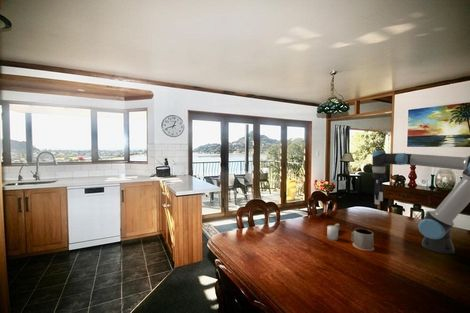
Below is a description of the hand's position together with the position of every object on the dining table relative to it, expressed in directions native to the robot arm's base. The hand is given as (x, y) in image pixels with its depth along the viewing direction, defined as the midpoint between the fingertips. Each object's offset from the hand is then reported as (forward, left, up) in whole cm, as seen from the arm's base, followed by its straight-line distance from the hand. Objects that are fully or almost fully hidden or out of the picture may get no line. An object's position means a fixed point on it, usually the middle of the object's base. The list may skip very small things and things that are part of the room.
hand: (378, 202), depth 149 cm
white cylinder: (+23, +23, -26) cm, 41 cm away
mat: (+4, +22, -26) cm, 34 cm away
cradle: (+19, +10, -26) cm, 33 cm away
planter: (+4, +22, -26) cm, 34 cm away
